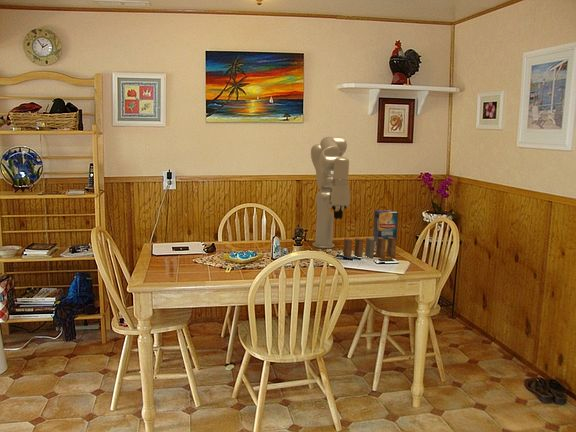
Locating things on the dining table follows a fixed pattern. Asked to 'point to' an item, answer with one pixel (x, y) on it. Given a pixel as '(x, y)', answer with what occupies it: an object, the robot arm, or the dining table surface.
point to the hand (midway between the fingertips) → (338, 218)
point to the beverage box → (385, 226)
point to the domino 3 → (369, 247)
